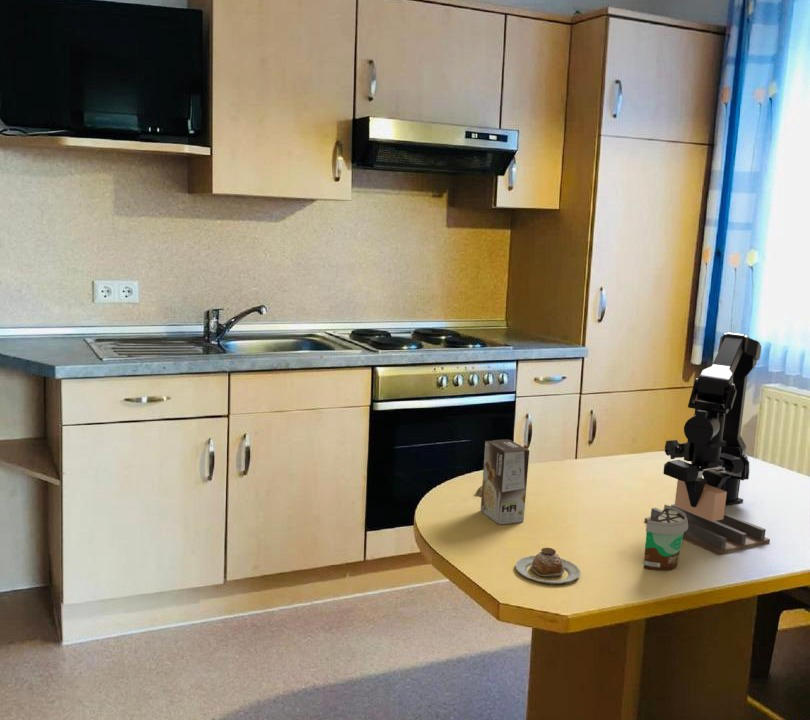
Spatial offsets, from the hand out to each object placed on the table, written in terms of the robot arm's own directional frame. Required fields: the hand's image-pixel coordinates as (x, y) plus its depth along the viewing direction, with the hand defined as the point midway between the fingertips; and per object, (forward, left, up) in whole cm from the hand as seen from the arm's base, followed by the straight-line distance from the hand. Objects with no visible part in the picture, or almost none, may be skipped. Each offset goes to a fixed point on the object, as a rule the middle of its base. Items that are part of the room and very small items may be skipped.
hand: (699, 505), depth 187 cm
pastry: (+43, +2, -7) cm, 44 cm away
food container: (+19, +9, -7) cm, 22 cm away
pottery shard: (+24, -35, -7) cm, 43 cm away
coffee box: (+33, -25, -7) cm, 42 cm away
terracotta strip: (0, 0, -2) cm, 2 cm away
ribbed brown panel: (-3, 0, -6) cm, 7 cm away
